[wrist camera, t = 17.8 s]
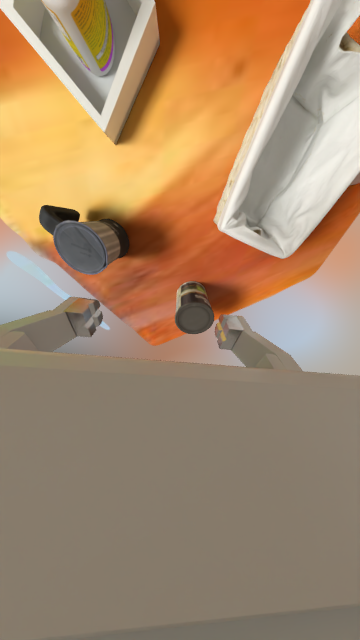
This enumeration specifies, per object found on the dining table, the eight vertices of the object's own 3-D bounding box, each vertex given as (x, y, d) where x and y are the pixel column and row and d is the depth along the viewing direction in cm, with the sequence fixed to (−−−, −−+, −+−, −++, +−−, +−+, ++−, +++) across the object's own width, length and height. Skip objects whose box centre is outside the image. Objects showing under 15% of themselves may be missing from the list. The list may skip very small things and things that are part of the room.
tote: (62, -133, 15) (20, -259, 11) (160, 43, 21) (155, 2, 17) (33, 47, 21) (-1, 7, 17) (115, 145, 27) (104, 132, 23)
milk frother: (132, 228, 36) (109, 234, 24) (124, 282, 44) (103, 306, 32) (73, 202, 32) (10, 193, 21) (76, 266, 41) (34, 285, 29)
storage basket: (256, 249, 38) (290, 263, 27) (204, 226, 35) (216, 230, 23) (341, 112, 25) (488, 15, 13) (269, 54, 22) (376, -143, 10)
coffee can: (191, 274, 43) (195, 294, 31) (212, 295, 47) (222, 319, 36) (170, 295, 47) (166, 320, 36) (190, 312, 51) (193, 339, 40)
